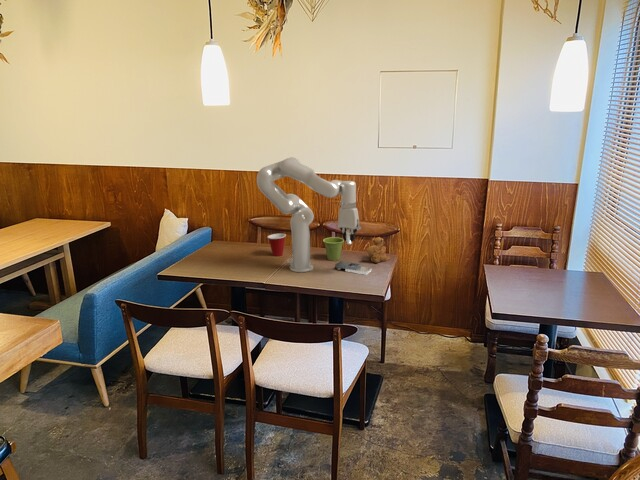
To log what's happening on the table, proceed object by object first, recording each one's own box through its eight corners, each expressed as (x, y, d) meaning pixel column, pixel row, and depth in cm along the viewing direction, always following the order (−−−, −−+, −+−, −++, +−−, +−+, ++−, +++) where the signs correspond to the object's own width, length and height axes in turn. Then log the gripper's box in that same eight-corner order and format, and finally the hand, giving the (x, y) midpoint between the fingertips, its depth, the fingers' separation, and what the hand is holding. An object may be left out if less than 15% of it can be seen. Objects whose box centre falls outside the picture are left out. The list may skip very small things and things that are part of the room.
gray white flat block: (335, 269, 258) (335, 264, 257) (340, 265, 264) (340, 260, 263) (366, 274, 250) (366, 269, 249) (371, 270, 256) (371, 265, 255)
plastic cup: (270, 251, 290) (269, 232, 287) (288, 252, 289) (287, 233, 286) (266, 257, 280) (265, 237, 277) (284, 258, 278) (283, 238, 275)
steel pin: (344, 243, 249) (344, 228, 247) (347, 242, 252) (347, 227, 250) (350, 244, 248) (350, 229, 246) (353, 243, 250) (353, 228, 248)
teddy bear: (390, 259, 276) (391, 236, 272) (379, 265, 264) (380, 242, 261) (374, 256, 281) (375, 234, 277) (363, 262, 269) (364, 240, 266)
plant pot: (319, 258, 277) (318, 239, 274) (334, 254, 284) (334, 236, 281) (333, 263, 268) (333, 244, 265) (348, 259, 276) (348, 240, 273)
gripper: (330, 205, 245) (331, 240, 250) (360, 208, 237) (360, 244, 242) (337, 203, 252) (338, 237, 257) (366, 205, 244) (366, 240, 249)
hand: (349, 240), depth 249 cm, fingers closed on steel pin, 3 cm apart
